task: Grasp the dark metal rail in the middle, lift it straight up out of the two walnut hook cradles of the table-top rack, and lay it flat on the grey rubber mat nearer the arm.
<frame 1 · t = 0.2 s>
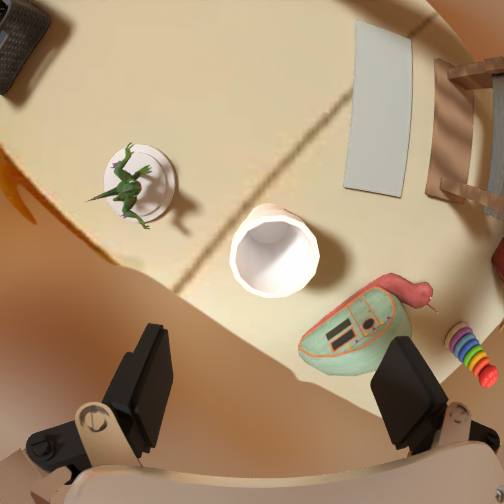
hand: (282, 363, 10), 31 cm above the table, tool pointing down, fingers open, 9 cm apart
rail: (498, 134, 22), point 12 cm above the table, touching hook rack
storage bin: (9, 39, 23), on the table
toy snail: (354, 306, 46), on the table
mat: (382, 104, 33), on the table
stacking toy: (455, 333, 50), on the table
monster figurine: (139, 183, 38), on the table
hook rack: (451, 130, 33), on the table
foam cup: (267, 223, 40), on the table
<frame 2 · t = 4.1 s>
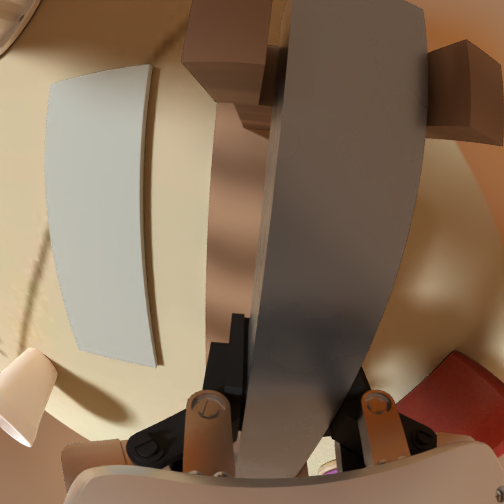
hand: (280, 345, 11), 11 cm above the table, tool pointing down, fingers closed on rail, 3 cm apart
rail: (282, 361, 10), point 12 cm above the table, touching gripper, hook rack
mat: (94, 235, 21), on the table
plant pot: (438, 386, 30), on the table
stacking toy: (336, 463, 38), on the table
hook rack: (267, 250, 21), on the table
foam cup: (42, 363, 28), on the table
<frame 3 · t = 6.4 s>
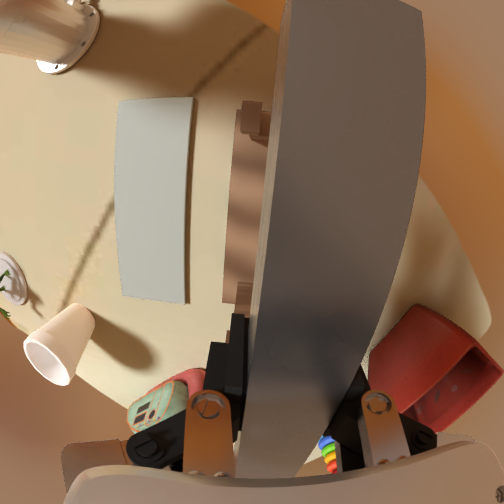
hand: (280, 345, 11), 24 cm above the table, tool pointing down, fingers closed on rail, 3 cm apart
rail: (282, 360, 10), point 25 cm above the table, touching gripper
toy snail: (175, 387, 47), on the table
mat: (149, 205, 34), on the table
plant pot: (408, 339, 42), on the table
stacking toy: (328, 417, 50), on the table
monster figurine: (10, 277, 39), on the table
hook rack: (264, 213, 34), on the table
foam cup: (81, 317, 41), on the table
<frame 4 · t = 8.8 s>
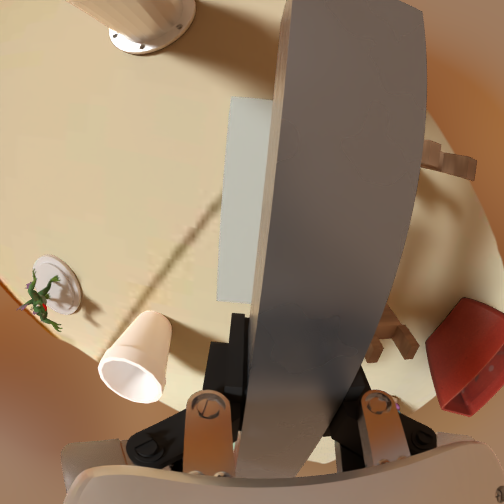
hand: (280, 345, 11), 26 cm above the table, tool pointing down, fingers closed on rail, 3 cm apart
rail: (282, 361, 10), point 27 cm above the table, touching gripper
mat: (260, 208, 35), on the table
plant pot: (453, 328, 44), on the table
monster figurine: (57, 284, 40), on the table
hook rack: (367, 220, 36), on the table
foam cup: (154, 325, 42), on the table
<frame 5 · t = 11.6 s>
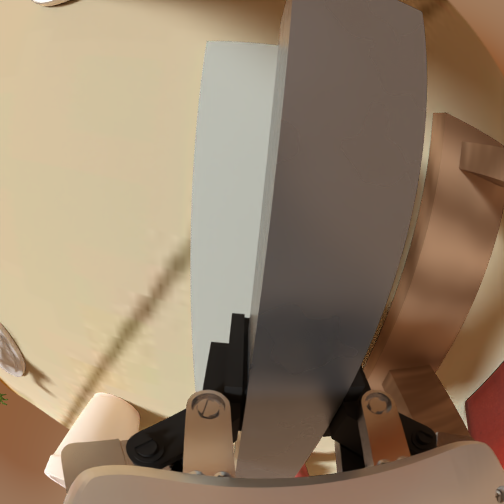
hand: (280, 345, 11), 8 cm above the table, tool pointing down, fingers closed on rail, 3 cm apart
rail: (282, 361, 10), point 9 cm above the table, touching gripper
mat: (267, 265, 18), on the table
plant pot: (495, 380, 28), on the table
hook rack: (440, 277, 19), on the table
foam cup: (116, 407, 26), on the table
when the fingers open (1 cm above the table, at t = 13.7 s): rail drops 2 cm, resting on mat.
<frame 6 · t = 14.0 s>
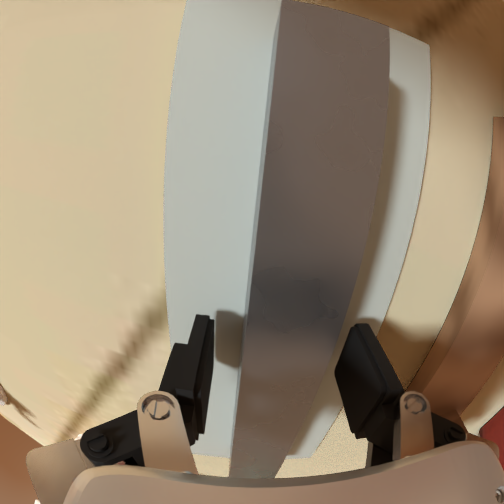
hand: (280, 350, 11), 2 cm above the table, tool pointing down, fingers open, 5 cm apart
rail: (275, 334, 12), point 1 cm above the table, touching mat
mat: (277, 324, 13), on the table
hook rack: (482, 319, 13), on the table
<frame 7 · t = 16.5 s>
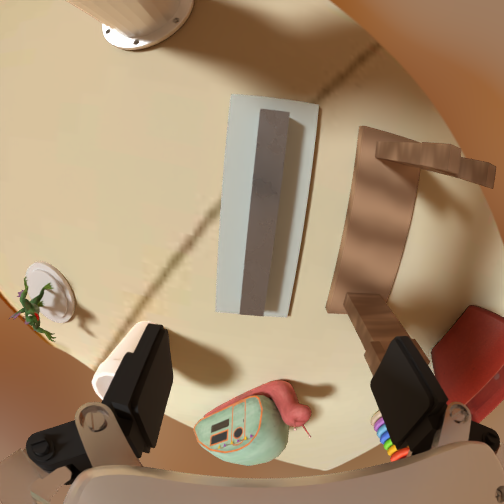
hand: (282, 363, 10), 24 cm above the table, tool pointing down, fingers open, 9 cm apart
rail: (261, 215, 32), point 1 cm above the table, touching mat
toy snail: (248, 400, 46), on the table
mat: (262, 214, 33), on the table
plant pot: (459, 336, 42), on the table
stacking toy: (384, 412, 50), on the table
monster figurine: (50, 291, 38), on the table
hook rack: (375, 227, 33), on the table
foam cup: (151, 335, 40), on the table
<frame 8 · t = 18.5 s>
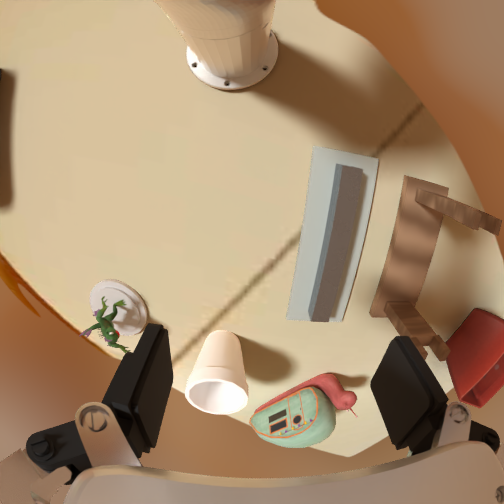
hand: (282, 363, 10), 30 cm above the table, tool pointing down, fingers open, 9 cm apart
rail: (331, 244, 40), point 1 cm above the table, touching mat
toy snail: (297, 392, 54), on the table
mat: (331, 243, 41), on the table
plant pot: (466, 334, 50), on the table
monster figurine: (118, 306, 45), on the table
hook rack: (409, 251, 41), on the table
foam cup: (223, 342, 48), on the table
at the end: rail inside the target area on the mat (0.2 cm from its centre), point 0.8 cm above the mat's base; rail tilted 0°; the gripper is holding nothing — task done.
